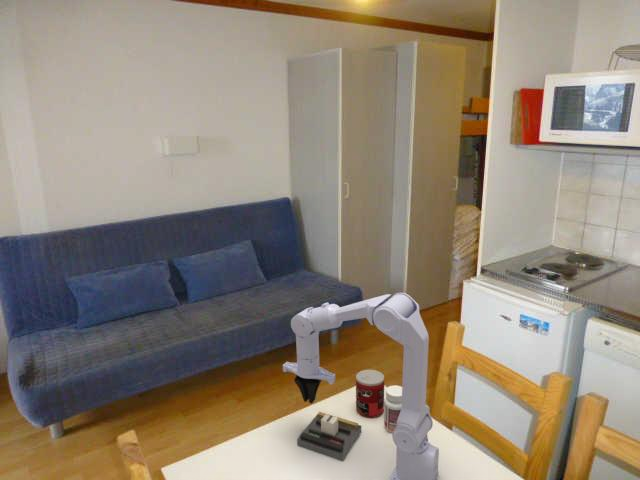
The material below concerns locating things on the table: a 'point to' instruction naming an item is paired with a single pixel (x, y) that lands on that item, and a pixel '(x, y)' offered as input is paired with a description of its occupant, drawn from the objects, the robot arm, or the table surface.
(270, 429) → the table surface
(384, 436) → the table surface
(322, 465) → the table surface
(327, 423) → the block
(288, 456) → the table surface
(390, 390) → the pill bottle
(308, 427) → the breaker panel
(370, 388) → the canned food
